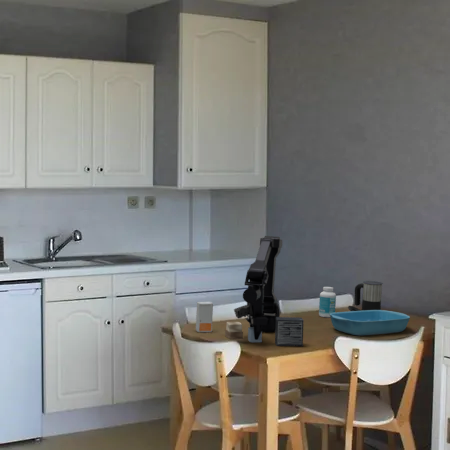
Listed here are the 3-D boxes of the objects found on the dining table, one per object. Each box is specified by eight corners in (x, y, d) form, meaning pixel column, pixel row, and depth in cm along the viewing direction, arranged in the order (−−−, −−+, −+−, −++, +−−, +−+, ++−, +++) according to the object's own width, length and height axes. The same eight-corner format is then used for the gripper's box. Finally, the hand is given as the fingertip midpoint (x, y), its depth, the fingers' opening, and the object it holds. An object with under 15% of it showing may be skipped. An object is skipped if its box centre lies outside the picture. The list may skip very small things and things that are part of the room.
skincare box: (198, 332, 364) (198, 303, 363) (195, 330, 368) (196, 301, 367) (212, 332, 366) (213, 303, 365) (209, 330, 370) (210, 301, 369)
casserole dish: (384, 323, 400) (385, 307, 399) (419, 332, 381) (420, 316, 380) (318, 329, 381) (319, 312, 380) (352, 339, 362) (353, 322, 361)
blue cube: (258, 339, 355) (259, 327, 354) (261, 342, 350) (262, 329, 350) (247, 339, 354) (248, 327, 353) (250, 342, 349) (250, 329, 349)
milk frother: (383, 312, 425) (384, 281, 424) (375, 317, 411) (377, 286, 409) (354, 309, 431) (355, 279, 429) (345, 314, 416) (347, 283, 415)
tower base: (237, 336, 361) (237, 329, 361) (242, 339, 356) (243, 331, 355) (224, 337, 359) (225, 329, 358) (230, 339, 354) (230, 332, 353)
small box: (301, 343, 351) (302, 316, 350) (303, 346, 344) (304, 320, 343) (274, 342, 350) (275, 316, 350) (275, 346, 344) (277, 319, 343)
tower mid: (238, 329, 360) (239, 321, 360) (241, 331, 355) (242, 324, 355) (226, 329, 359) (226, 322, 359) (229, 332, 354) (229, 324, 354)
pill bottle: (331, 318, 405) (333, 289, 404) (316, 316, 408) (317, 287, 407) (337, 316, 412) (338, 287, 410) (322, 314, 415) (323, 285, 414)
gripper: (231, 295, 358) (230, 333, 359) (241, 303, 340) (239, 343, 341) (258, 295, 360) (256, 333, 362) (269, 303, 342) (268, 343, 343)
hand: (254, 338), depth 352 cm, fingers closed on blue cube, 4 cm apart
